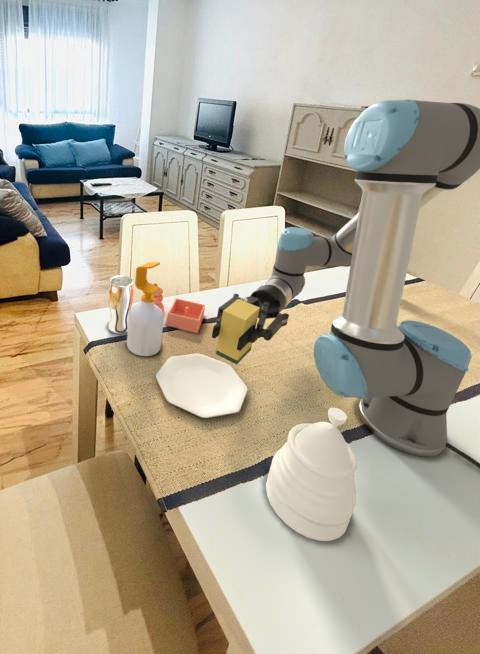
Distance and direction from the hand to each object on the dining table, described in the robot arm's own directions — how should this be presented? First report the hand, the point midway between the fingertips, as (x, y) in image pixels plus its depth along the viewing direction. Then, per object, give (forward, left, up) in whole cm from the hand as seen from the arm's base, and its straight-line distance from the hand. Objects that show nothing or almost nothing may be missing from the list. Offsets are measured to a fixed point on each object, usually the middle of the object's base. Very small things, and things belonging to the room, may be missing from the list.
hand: (226, 338), depth 79 cm
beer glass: (+33, +9, -17) cm, 39 cm away
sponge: (+2, -5, -6) cm, 8 cm away
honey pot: (-24, -2, -17) cm, 29 cm away
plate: (+5, 0, -17) cm, 18 cm away
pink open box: (+33, -8, -17) cm, 38 cm away
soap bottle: (+23, +6, -17) cm, 30 cm away
